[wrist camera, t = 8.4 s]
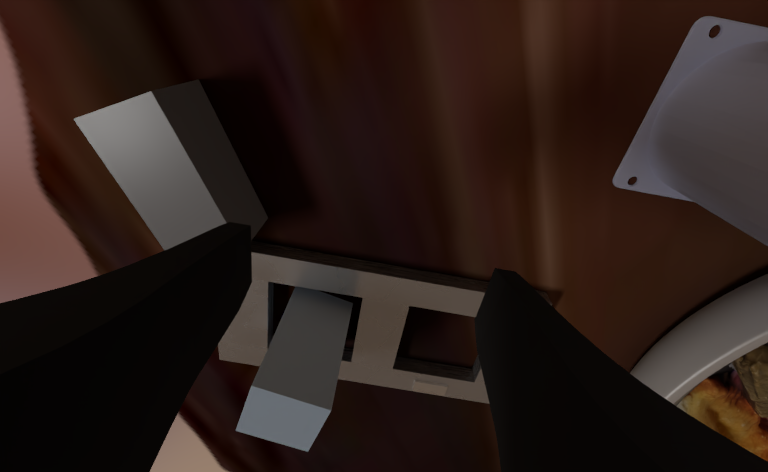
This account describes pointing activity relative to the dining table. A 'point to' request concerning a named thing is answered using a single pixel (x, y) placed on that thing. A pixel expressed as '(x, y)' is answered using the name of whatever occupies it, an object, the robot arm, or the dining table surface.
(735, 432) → the bowl
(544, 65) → the dining table surface
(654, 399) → the robot arm
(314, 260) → the panel
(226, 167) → the plug
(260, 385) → the plug
